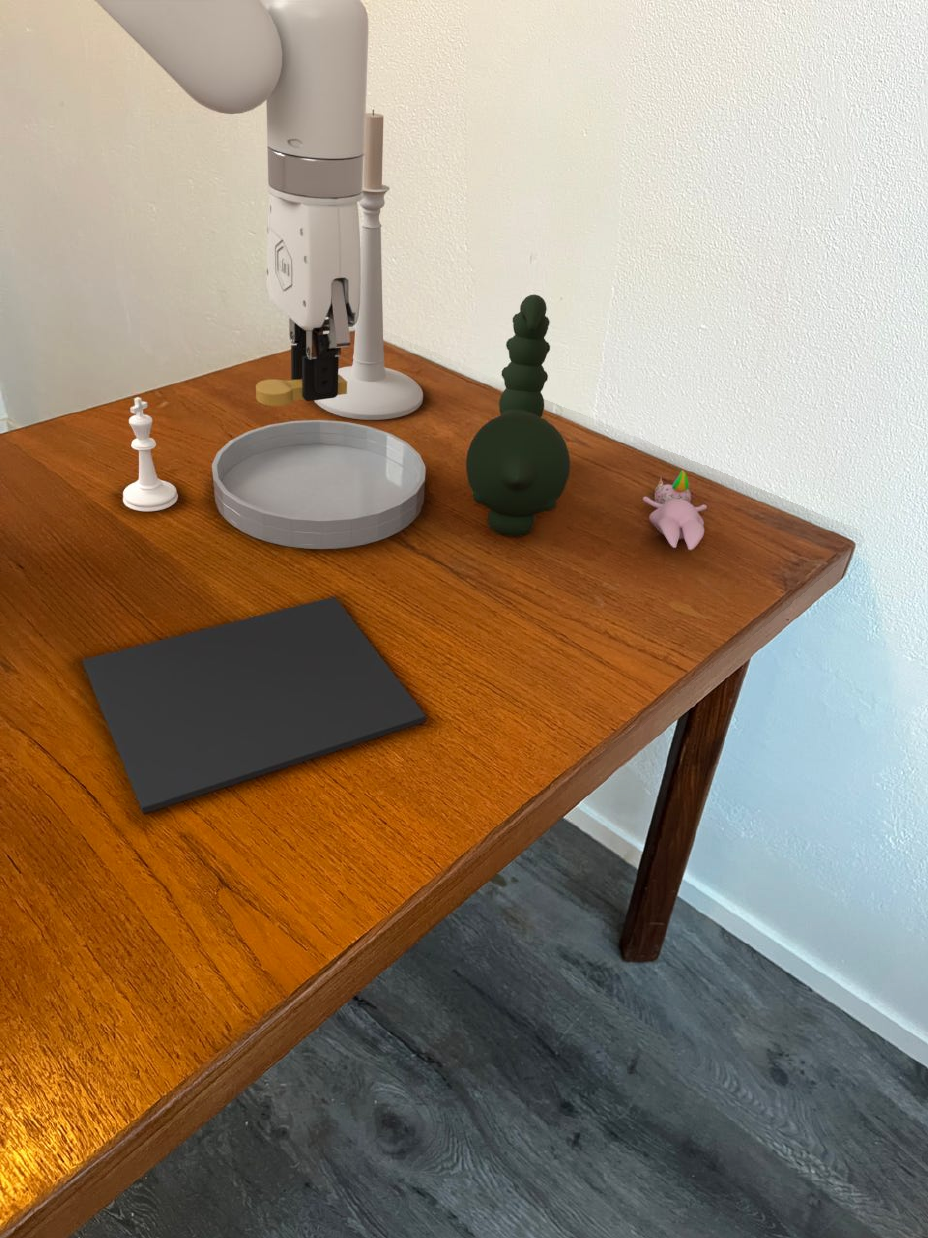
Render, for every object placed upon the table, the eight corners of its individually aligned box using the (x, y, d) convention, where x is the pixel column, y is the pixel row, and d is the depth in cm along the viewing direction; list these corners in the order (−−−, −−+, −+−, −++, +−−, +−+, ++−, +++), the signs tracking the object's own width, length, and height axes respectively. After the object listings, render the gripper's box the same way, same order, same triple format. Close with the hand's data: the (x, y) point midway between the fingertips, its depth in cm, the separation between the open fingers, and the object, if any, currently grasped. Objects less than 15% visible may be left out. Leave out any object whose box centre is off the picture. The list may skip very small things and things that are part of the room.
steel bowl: (258, 569, 83) (256, 539, 81) (187, 465, 97) (184, 438, 95) (461, 522, 92) (463, 494, 90) (369, 433, 106) (370, 408, 104)
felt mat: (143, 814, 61) (141, 808, 60) (83, 665, 71) (82, 659, 71) (426, 722, 69) (426, 715, 69) (334, 602, 80) (334, 596, 80)
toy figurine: (471, 456, 107) (454, 562, 85) (488, 277, 97) (473, 347, 75) (557, 465, 106) (561, 574, 85) (582, 287, 97) (594, 359, 75)
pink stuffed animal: (636, 504, 100) (643, 560, 87) (647, 448, 98) (656, 498, 84) (697, 512, 100) (713, 570, 87) (709, 456, 97) (728, 507, 84)
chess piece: (188, 494, 92) (178, 395, 86) (154, 517, 89) (141, 415, 83) (146, 480, 94) (133, 382, 88) (111, 502, 90) (95, 401, 84)
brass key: (263, 408, 85) (263, 395, 84) (251, 394, 87) (250, 381, 86) (350, 397, 88) (350, 384, 88) (335, 383, 90) (336, 371, 90)
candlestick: (437, 386, 117) (455, 108, 99) (399, 428, 107) (412, 128, 89) (339, 366, 120) (339, 92, 102) (293, 405, 110) (284, 109, 92)
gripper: (236, 151, 81) (244, 364, 92) (310, 201, 70) (309, 435, 81) (320, 151, 84) (318, 356, 95) (403, 198, 74) (390, 423, 84)
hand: (314, 391), depth 88 cm, fingers closed on brass key, 1 cm apart
